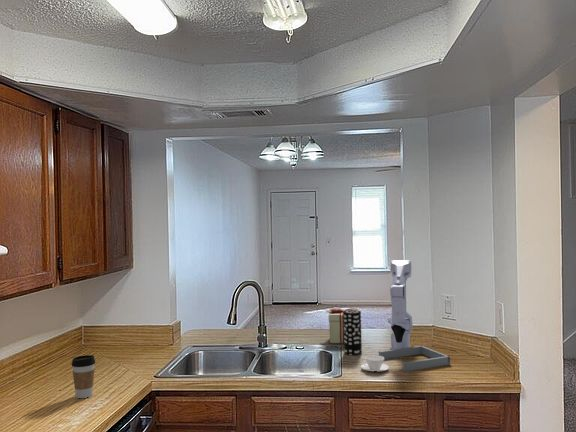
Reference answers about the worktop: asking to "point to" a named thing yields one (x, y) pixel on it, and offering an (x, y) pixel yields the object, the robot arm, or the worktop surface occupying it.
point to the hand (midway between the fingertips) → (399, 342)
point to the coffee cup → (83, 375)
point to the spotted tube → (352, 332)
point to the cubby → (435, 360)
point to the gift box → (337, 324)
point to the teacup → (374, 363)
